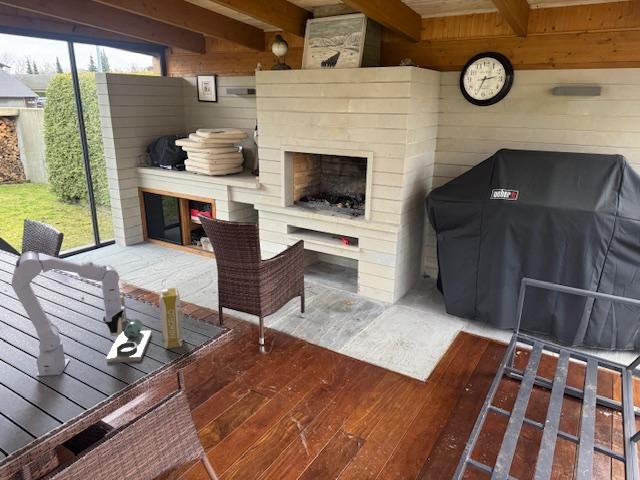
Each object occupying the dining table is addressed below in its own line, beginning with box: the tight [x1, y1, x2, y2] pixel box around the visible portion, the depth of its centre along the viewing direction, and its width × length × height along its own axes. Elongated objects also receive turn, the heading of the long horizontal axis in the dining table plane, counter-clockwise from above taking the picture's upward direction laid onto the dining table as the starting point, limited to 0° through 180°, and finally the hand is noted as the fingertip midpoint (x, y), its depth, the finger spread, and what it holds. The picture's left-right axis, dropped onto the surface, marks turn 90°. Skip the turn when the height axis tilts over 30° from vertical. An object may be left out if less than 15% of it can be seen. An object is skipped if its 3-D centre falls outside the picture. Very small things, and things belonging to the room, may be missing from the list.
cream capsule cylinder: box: [109, 316, 123, 337], centre depth 170 cm, size 4×4×7 cm
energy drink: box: [120, 293, 127, 324], centre depth 194 cm, size 5×5×12 cm
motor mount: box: [106, 318, 152, 363], centre depth 175 cm, size 20×12×8 cm, turn 9°
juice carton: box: [158, 287, 184, 349], centre depth 177 cm, size 9×8×24 cm
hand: (115, 329), depth 171 cm, fingers closed on cream capsule cylinder, 4 cm apart
